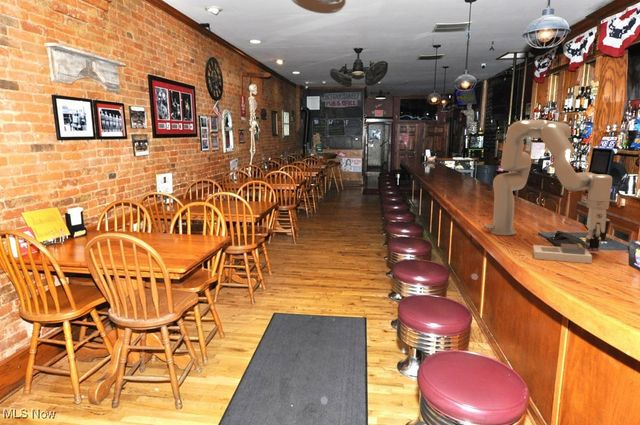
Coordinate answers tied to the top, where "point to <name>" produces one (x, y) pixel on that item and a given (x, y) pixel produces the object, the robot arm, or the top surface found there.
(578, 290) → the top surface
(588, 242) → the pill bottle
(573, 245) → the grey slab
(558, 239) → the black slab with knob
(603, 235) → the coffee mug
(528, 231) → the top surface
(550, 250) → the socket block
